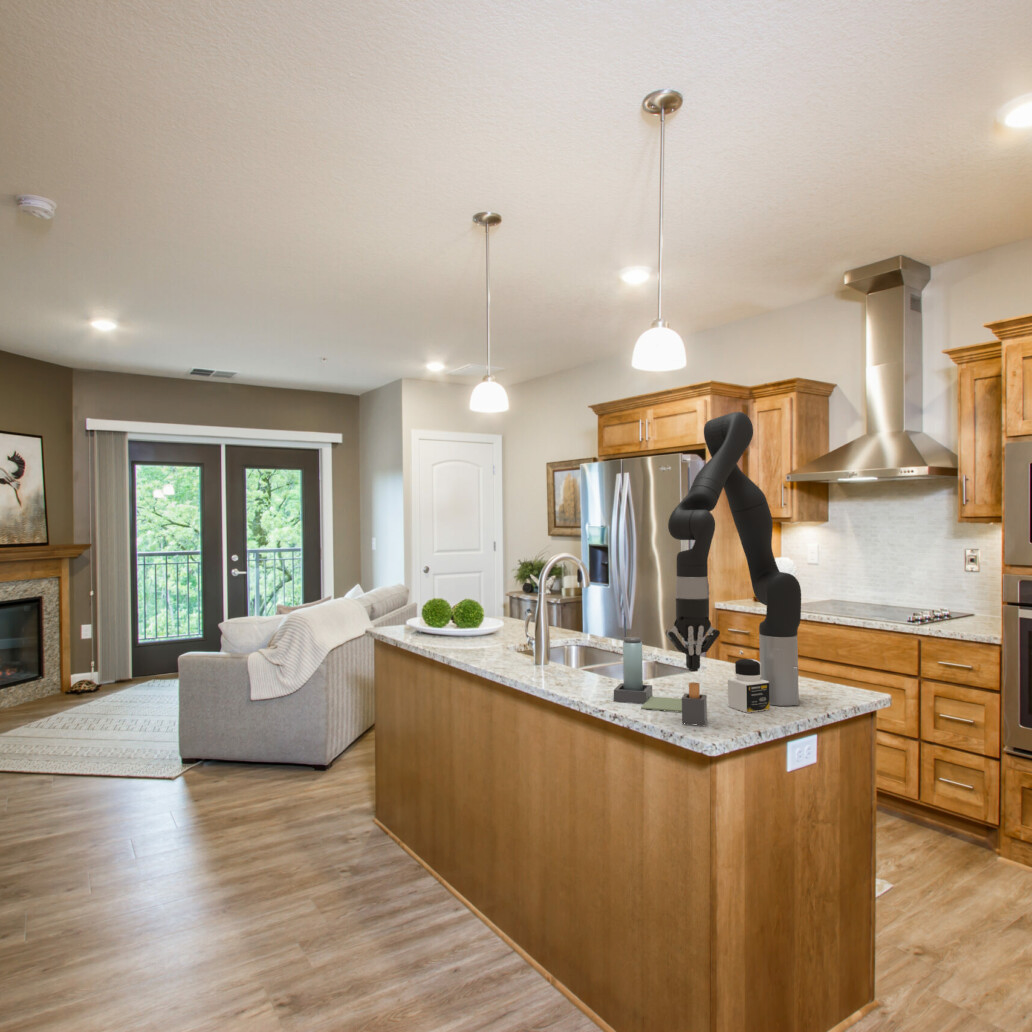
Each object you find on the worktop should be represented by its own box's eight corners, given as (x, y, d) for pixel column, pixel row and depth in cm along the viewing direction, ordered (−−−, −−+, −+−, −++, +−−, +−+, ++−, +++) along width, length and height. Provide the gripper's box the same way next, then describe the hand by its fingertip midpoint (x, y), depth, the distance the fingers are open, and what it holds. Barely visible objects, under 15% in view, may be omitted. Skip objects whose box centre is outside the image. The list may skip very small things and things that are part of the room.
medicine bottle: (747, 713, 176) (746, 663, 176) (727, 706, 183) (726, 658, 183) (770, 710, 179) (769, 661, 179) (750, 703, 186) (749, 656, 186)
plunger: (700, 706, 170) (700, 682, 170) (699, 709, 168) (698, 684, 168) (689, 705, 171) (689, 682, 171) (688, 708, 168) (688, 684, 168)
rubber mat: (696, 701, 188) (696, 699, 188) (690, 713, 177) (690, 711, 177) (649, 698, 193) (649, 696, 193) (641, 709, 181) (641, 707, 181)
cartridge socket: (652, 696, 195) (652, 685, 195) (646, 704, 187) (646, 692, 187) (621, 694, 198) (620, 683, 198) (613, 701, 190) (613, 689, 190)
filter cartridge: (644, 697, 194) (643, 637, 194) (641, 702, 189) (640, 640, 189) (626, 696, 195) (625, 636, 196) (621, 700, 191) (621, 639, 191)
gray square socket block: (707, 720, 170) (706, 694, 171) (704, 726, 166) (704, 699, 166) (685, 718, 172) (684, 693, 172) (682, 724, 168) (681, 698, 168)
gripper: (712, 593, 174) (713, 666, 174) (659, 595, 172) (660, 668, 172) (726, 596, 167) (727, 673, 167) (671, 598, 165) (671, 675, 165)
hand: (693, 670), depth 169 cm, fingers closed
